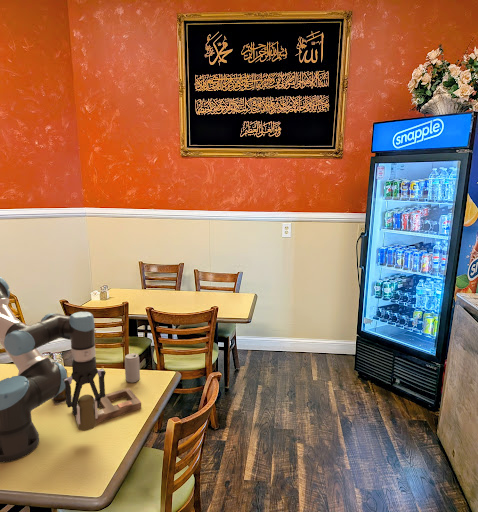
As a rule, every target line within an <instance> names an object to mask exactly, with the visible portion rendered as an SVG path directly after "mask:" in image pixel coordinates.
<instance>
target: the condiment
mask: <svg viewBox="0 0 478 512" xmlns="http://www.w3.org/2000/svg"><path fill="white" fill-rule="evenodd" d="M65 370H66V373H67V378H68V377H69V374H68V370H67V369H66V368H65ZM72 399H73V395H72V394H71V401H72ZM50 400H52V402H53V403H54V405H55V406H56V405H61V404H64V403H66V389H64V390H63V391H62V392H61V393H59V394H58V395H57V396H56V397H54V398H51V399H50Z"/></svg>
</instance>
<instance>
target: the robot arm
mask: <svg viewBox="0 0 478 512" xmlns="http://www.w3.org/2000/svg"><path fill="white" fill-rule="evenodd" d="M9 289H10V287H9V284H8V283H7V281H6V280H5V278H3V277H2V276H0V344H1V346H2V348H3V349H4V350H5V352H6V353H7V355H8V356H9V358H10V360H11V361H12V363H13V364H14V365H15V368H17V370H18V373H17V375H15V376H14V375H12V376H11V377H6V378H4V379H1V380H0V463H10V462H13V461H17V460H20V459H22V458H24V457H27V456H28V455H30V454H31V453H32V452H33V451H34V450H35V449H37V447H38V446H39V444H40V434H39V431H38V430H37V428H36V426H35V424H34V422H33V419H32V411H33V410H35V409H36V408H38V407H40V406H41V405H43V404H45V403H46V402H49V401H50V400H52V399H51V398H54V397H56V396H57V395H58V394H59V393H61V392H62V391H63V390H64V389H66V402H65V404H66V406H67V408H72V409H71V410H72V415H73V416H75V415H76V416H75V421H76V423H77V425H78V424H80V407H79V405H78V400H79V398H80V395H81V391H82V387H83V386H84V385H86V384H89V385H90V388H91V391H92V394H93V398H94V404H93V409H94V414H95V419H97V418H98V413H97V410H98V409H100V407H101V406H100V401H101V398H102V397H105V395H106V386H105V376H106V371H105V370H104V368H100V369H98V368H97V357H96V355H97V353H96V340H95V339H96V336H95V335H96V334H95V332H96V331H95V328H96V324H95V317H94V314H93V313H91V312H89V311H78V312H74V313H71V315H70V316H69V315H65V314H61V313H53V312H52V313H47V314H45V315H44V316H43V317H42V319H40V321H37V322H36V323H33V324H30V325H29V324H26V323H24V322H21V321H20V320H18V319H17V317H16V315H15V313H14V312H13V311H12V310H11V308H10V307H9V303H10V295H11V291H10V290H9ZM58 339H65V340H69V341H70V347H71V359H72V360H71V366H72V367H71V369H72V372H71V374H70V376H68V378H67V375H68V372H67V373H66V370H67V369H66V368H65V366H64V365H63V364H61V363H60V362H58V361H52V360H51V359H50V358H49V357H48V356H43V355H42V354H41V352H40V351H39V349H38V348H40V347H42V346H44V345H47V344H49V343H52V342H54V341H56V340H58ZM65 369H66V370H65ZM96 376H98V389H99V392H98V389H97V386H96V383H95V381H94V379H95V378H96ZM72 381H74V382H75V387H74V391H73V395H72V388H71V385H72V383H73V382H72ZM71 395H72V397H73V399H72V400H71Z"/></svg>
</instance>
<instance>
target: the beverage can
mask: <svg viewBox="0 0 478 512" xmlns="http://www.w3.org/2000/svg"><path fill="white" fill-rule="evenodd" d="M124 357H125V358H124V371H125V372H124V374H125V381H127V382H128V383H137V382H138V381H139V380H140V379H141V373H140V356H139V353H137V352H136V353H135V352H132V353H128V354H126V355H125V356H124Z"/></svg>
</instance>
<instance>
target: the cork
mask: <svg viewBox="0 0 478 512" xmlns="http://www.w3.org/2000/svg"><path fill="white" fill-rule="evenodd" d="M94 398H95V397H94V395H91V394H84V395H81V396H79V400H78V405H79V407H80V424H78V423H77V428H78V430H80V431H82V432H83V431H84V432H85V431H86V432H87V431H90V430H92V429H94V428H95V427H96V425H97V423H96V419H95V414H94V409H93V404H94Z"/></svg>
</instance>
